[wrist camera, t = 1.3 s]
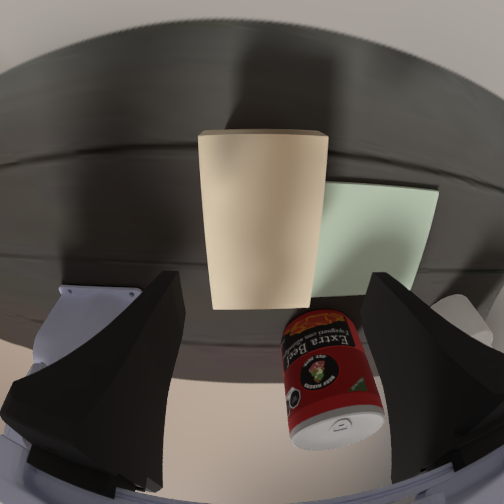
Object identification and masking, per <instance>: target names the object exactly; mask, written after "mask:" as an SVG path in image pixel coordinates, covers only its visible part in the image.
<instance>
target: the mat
mask: <svg viewBox="0 0 504 504" xmlns="http://www.w3.org/2000/svg"><path fill="white" fill-rule="evenodd" d="M438 195H439V191H437V190H432V189H424V188H414V187H404V186H393V185H381V184H367V183H351V182H331V181H325V189H324V199H323V209H322V218H321V227H320V236H319V244H318V251H317V259H316V266H315V273H314V280H313V287H312V293H311V297H330V296H349V295H365V294H366V291H367V288H368V285H369V281H370V278H371V275H372V272H387V273H388V274H390V275H391V276H392V277H394V278H395V279H396V280H398V281H399V282H400V283H401V284H403V285H404V286H405V287H406V288H407V289H409V290H410V289H411V287H412V284H413V281H414V278H415V275H416V273H417V270H418V267H419V264H420V261H421V258H422V254H423V251H424V248H425V245H426V241H427V238H428V234H429V231H430V227H431V223H432V220H433V216H434V212H435V208H436V203H437V199H438Z"/></svg>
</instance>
